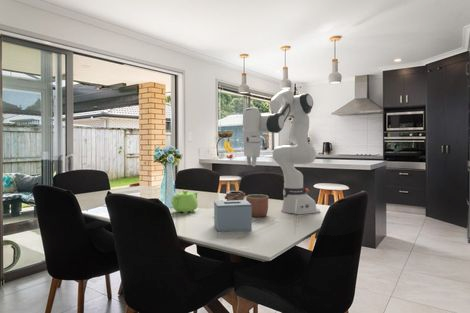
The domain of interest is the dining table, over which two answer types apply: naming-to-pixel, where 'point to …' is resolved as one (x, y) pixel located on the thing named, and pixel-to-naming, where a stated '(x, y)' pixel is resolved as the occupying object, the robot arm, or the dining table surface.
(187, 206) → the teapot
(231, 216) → the moneybox
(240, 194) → the decorative box
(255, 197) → the planter
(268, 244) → the dining table surface
